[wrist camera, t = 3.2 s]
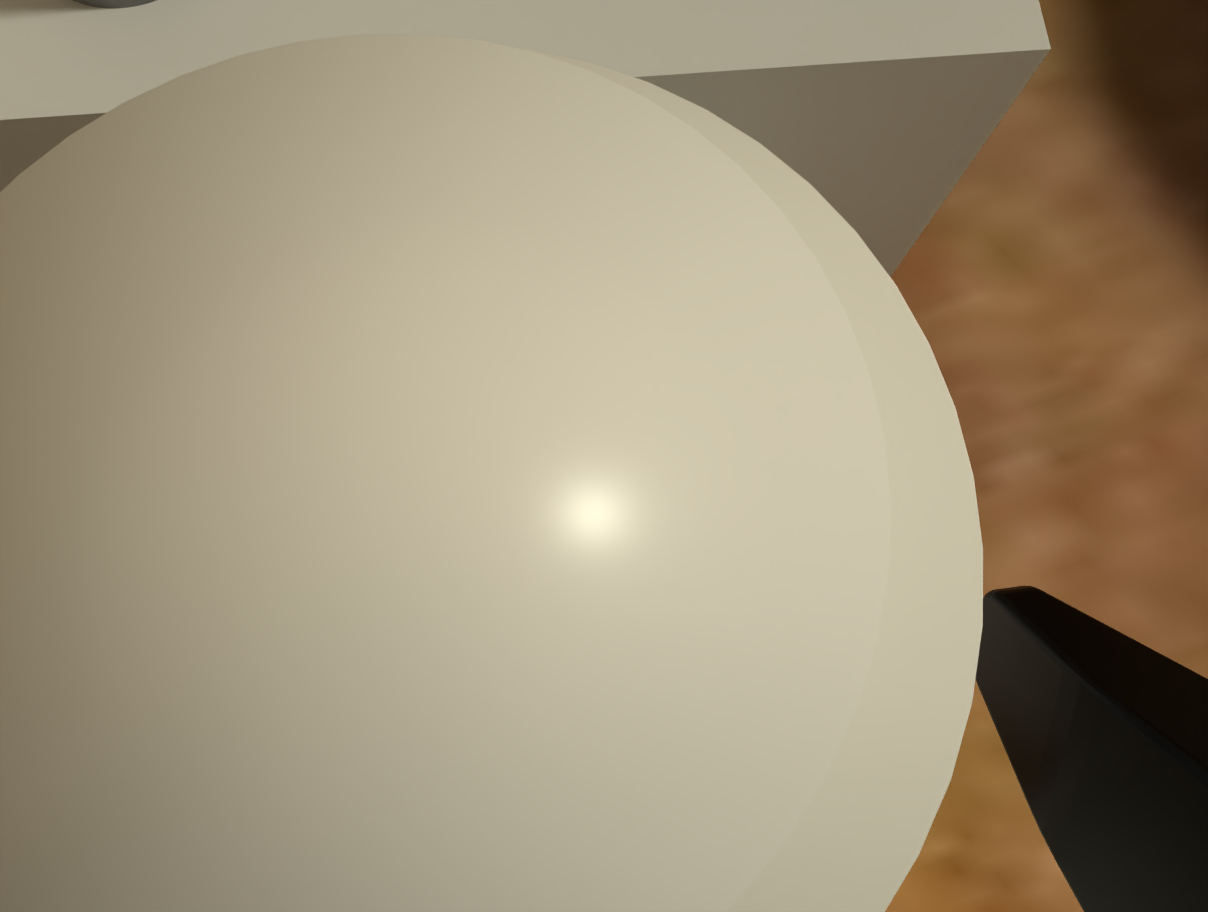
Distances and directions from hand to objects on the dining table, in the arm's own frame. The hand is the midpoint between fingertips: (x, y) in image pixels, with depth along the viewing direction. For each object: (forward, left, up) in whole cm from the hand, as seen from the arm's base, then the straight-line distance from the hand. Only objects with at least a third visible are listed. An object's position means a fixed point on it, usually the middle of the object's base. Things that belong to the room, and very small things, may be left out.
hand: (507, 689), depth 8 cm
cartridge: (+1, 0, -9) cm, 9 cm away
